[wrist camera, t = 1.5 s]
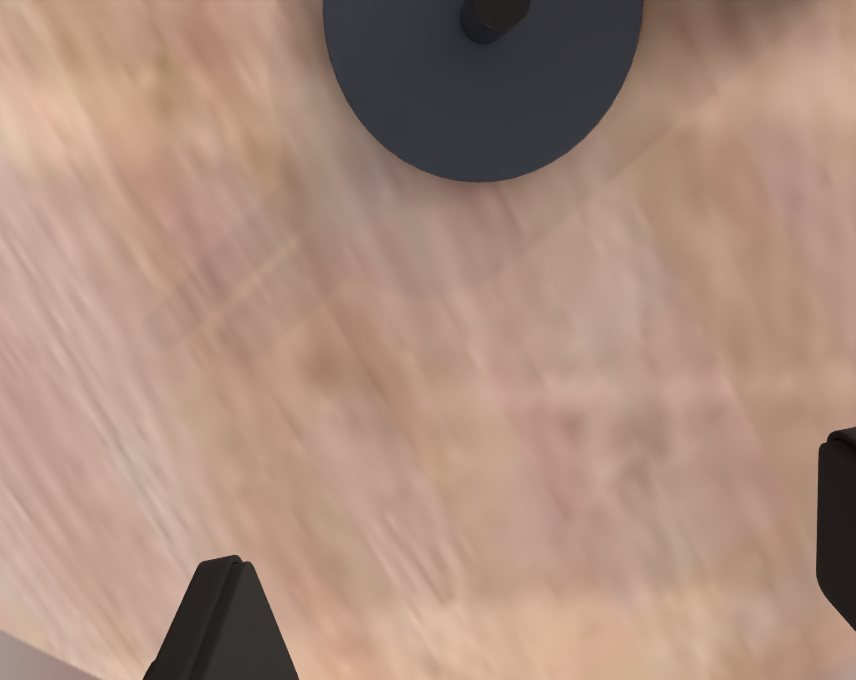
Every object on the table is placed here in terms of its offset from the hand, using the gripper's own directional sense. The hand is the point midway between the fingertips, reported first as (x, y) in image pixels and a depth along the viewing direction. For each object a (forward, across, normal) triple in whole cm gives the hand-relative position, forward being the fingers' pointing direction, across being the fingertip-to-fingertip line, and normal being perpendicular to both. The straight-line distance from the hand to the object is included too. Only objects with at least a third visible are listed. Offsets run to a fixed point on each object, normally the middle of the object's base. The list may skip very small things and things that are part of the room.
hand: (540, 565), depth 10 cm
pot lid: (+25, -4, -11) cm, 28 cm away
